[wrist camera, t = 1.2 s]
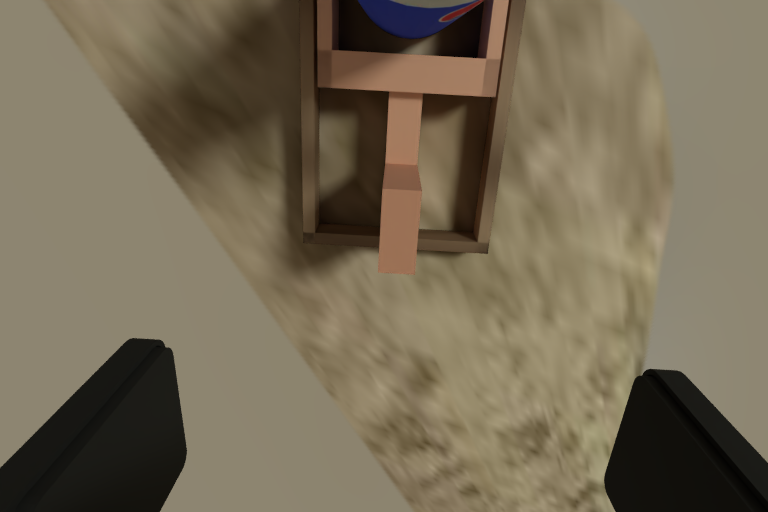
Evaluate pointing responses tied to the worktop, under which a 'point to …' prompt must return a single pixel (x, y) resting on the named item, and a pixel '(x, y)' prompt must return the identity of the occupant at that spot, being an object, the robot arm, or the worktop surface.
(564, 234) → the worktop surface
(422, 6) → the beverage can
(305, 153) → the lane frame
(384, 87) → the sled
